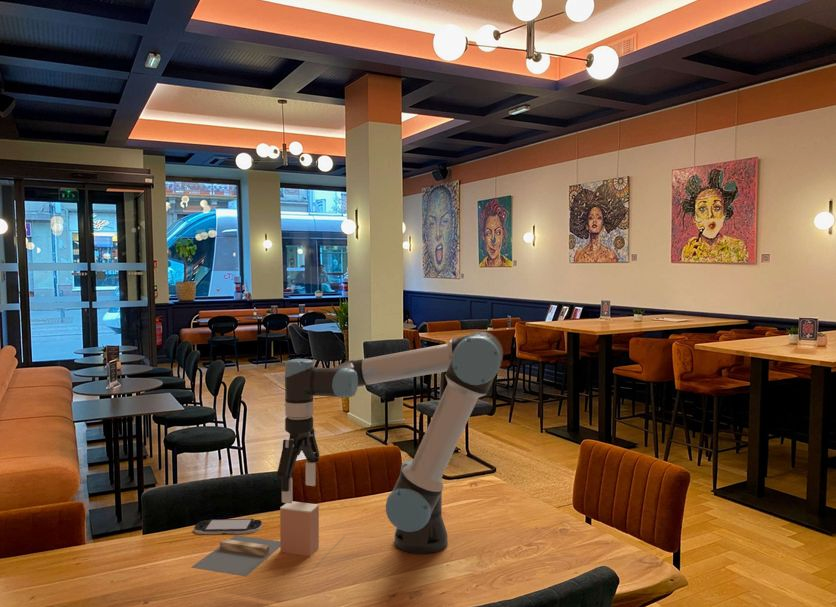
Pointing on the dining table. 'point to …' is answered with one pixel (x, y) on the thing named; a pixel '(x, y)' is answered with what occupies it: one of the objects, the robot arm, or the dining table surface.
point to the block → (299, 528)
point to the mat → (236, 558)
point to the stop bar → (244, 547)
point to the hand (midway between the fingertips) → (299, 493)
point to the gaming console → (228, 526)
